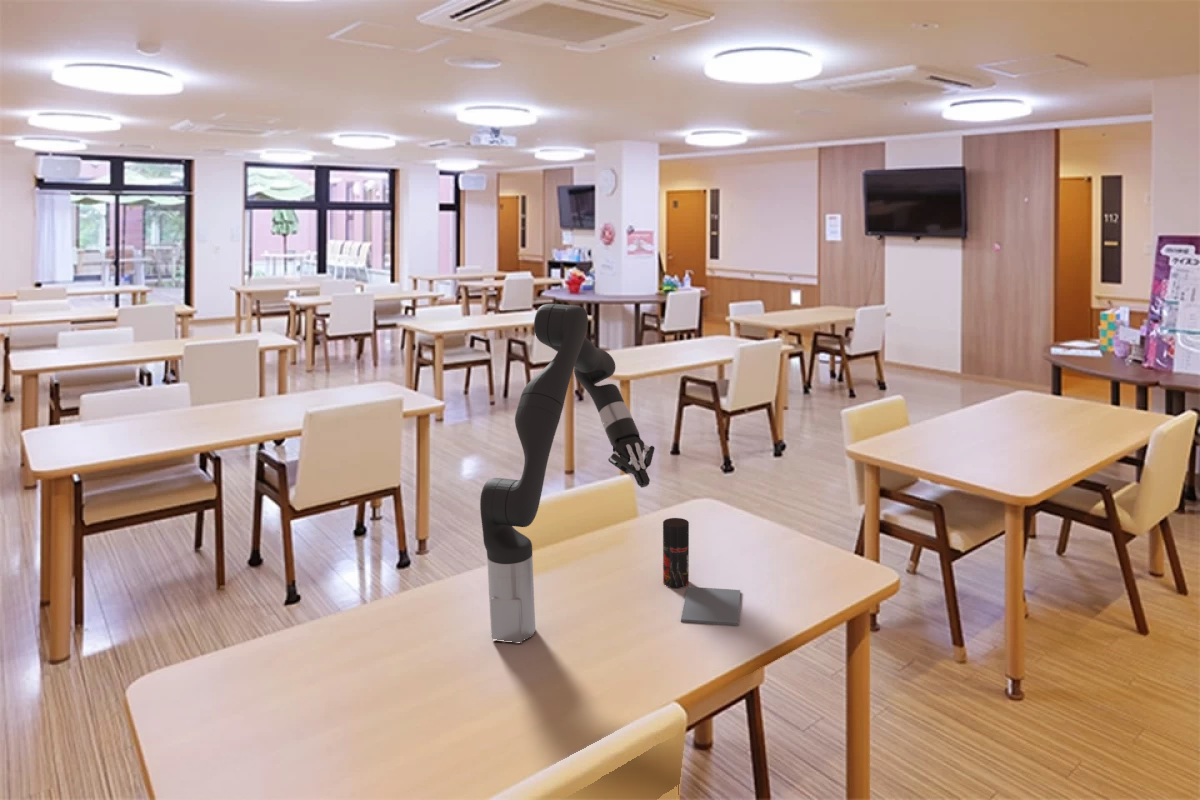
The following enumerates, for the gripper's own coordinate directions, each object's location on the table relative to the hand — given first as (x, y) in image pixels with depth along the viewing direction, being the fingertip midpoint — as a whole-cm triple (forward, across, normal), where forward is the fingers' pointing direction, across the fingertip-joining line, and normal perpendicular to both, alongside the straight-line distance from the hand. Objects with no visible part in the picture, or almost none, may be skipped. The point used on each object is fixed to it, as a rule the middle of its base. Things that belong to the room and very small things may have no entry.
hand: (645, 485), depth 202 cm
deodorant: (+24, 0, +5) cm, 24 cm away
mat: (+33, -1, -6) cm, 33 cm away
